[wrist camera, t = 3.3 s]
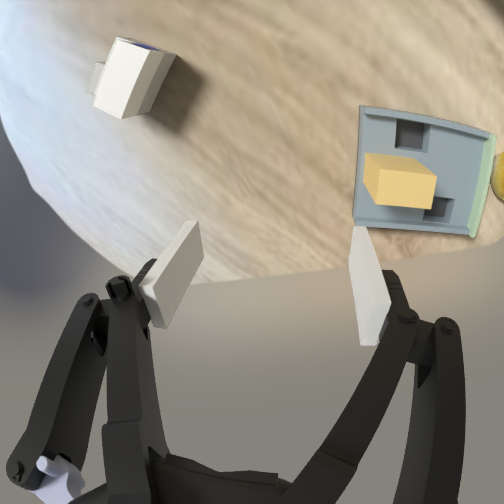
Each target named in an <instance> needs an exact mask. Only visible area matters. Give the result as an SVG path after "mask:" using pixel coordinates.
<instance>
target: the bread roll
mask: <svg viewBox="0 0 504 504" xmlns="http://www.w3.org/2000/svg"><path fill="white" fill-rule="evenodd" d="M490 179H491V186H492V189H493V190H494V193H495V194H496V195H497V197H499V198H500V199H502V200H503V201H504V151H503V152H502V153H500V154H499V155H498V156H496V157H495V158H494V160H493V165H492V171H491V176H490Z"/></svg>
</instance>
